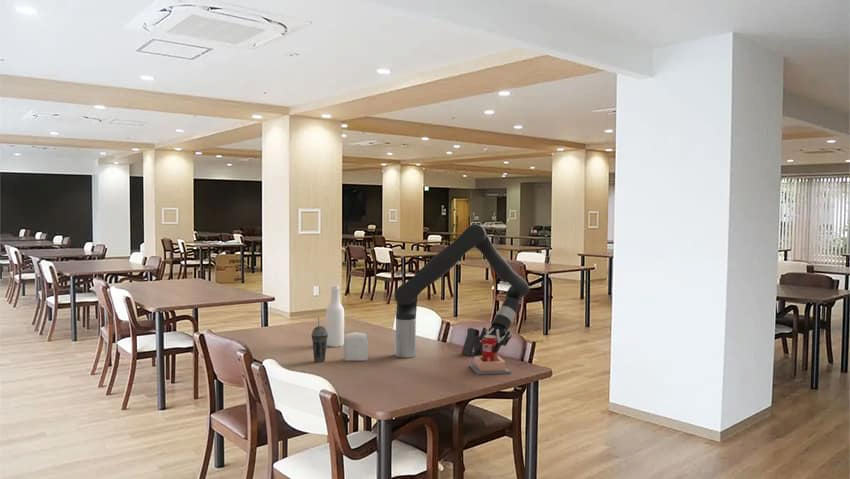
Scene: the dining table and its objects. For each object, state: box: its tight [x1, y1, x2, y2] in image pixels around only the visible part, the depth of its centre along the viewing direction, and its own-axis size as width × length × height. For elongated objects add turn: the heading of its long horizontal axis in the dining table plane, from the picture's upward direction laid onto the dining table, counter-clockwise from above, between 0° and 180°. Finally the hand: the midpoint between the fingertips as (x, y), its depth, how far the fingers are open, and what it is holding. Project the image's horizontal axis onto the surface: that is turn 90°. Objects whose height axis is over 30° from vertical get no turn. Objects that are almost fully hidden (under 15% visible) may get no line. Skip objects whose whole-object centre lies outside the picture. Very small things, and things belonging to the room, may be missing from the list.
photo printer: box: [344, 331, 369, 362], centre depth 269 cm, size 10×4×12 cm, turn 89°
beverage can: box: [481, 335, 499, 362], centre depth 254 cm, size 6×6×12 cm
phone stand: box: [461, 327, 482, 357], centre depth 283 cm, size 9×6×12 cm, turn 118°
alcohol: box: [325, 284, 345, 348], centre depth 299 cm, size 9×9×30 cm
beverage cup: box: [311, 316, 328, 364], centre depth 265 cm, size 7×7×20 cm
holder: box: [469, 355, 512, 376], centre depth 254 cm, size 14×14×4 cm
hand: (487, 350), depth 252 cm, fingers closed on beverage can, 6 cm apart
